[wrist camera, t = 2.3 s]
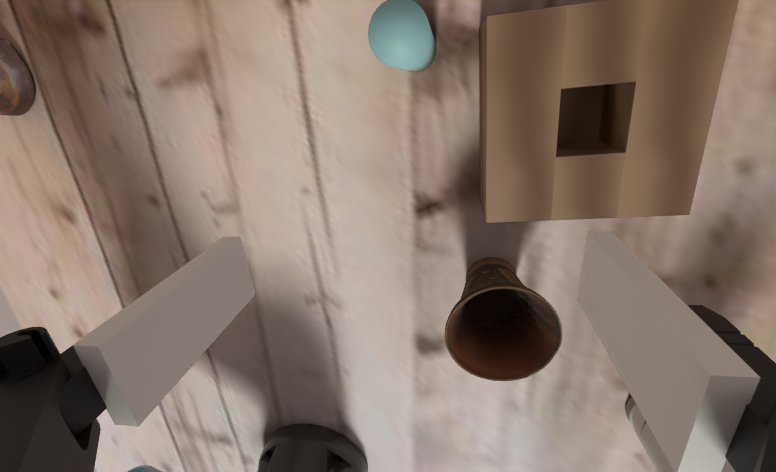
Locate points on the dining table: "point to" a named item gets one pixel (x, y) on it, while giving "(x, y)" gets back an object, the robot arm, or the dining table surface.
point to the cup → (501, 325)
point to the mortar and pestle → (14, 82)
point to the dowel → (402, 36)
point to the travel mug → (653, 440)
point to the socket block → (598, 107)
